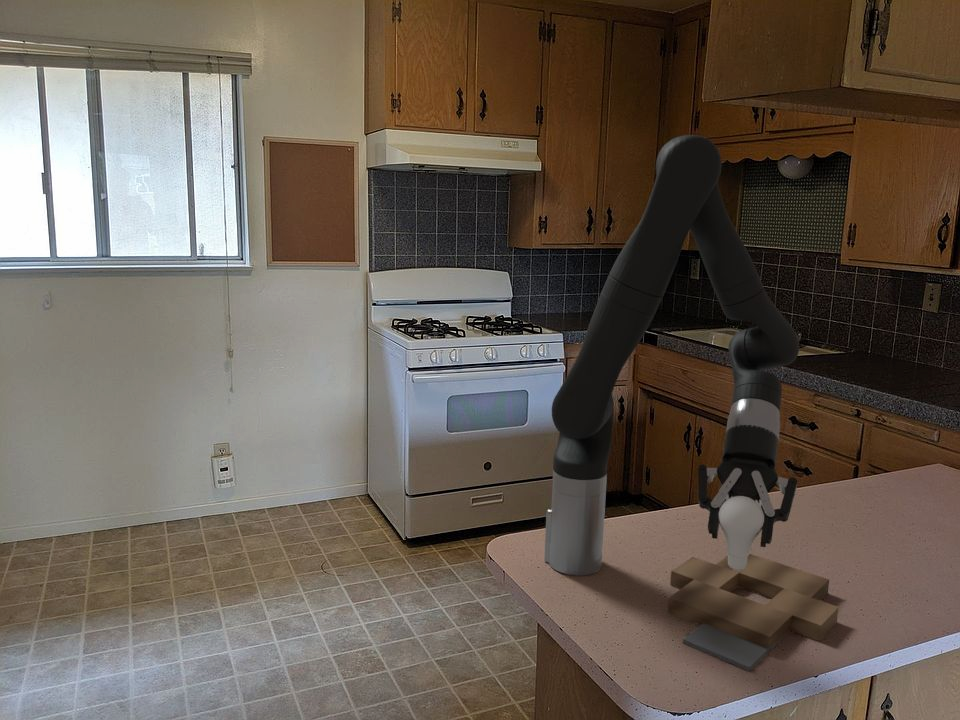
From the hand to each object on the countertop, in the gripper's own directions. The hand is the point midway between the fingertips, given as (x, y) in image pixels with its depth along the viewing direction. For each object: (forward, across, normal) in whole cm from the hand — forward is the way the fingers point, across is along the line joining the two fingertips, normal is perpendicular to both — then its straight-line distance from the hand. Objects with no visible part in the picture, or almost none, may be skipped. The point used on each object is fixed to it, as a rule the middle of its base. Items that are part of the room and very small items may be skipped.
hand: (738, 540), depth 108 cm
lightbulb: (+3, 0, +5) cm, 6 cm away
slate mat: (+11, 0, +13) cm, 17 cm away
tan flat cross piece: (+1, +2, +23) cm, 23 cm away
